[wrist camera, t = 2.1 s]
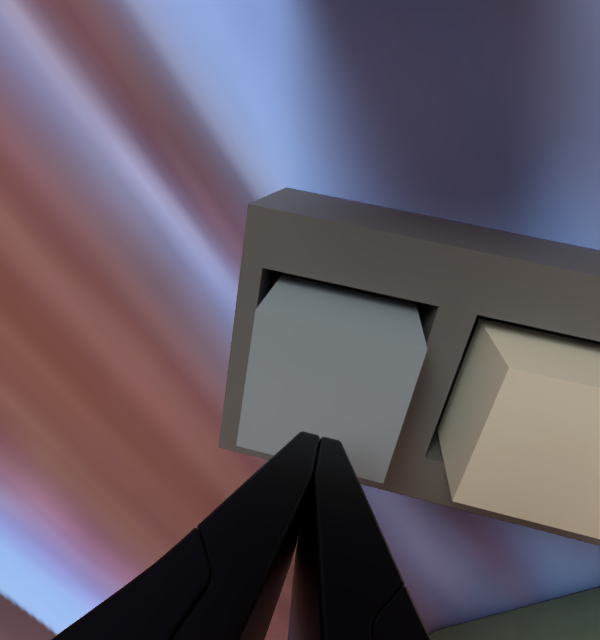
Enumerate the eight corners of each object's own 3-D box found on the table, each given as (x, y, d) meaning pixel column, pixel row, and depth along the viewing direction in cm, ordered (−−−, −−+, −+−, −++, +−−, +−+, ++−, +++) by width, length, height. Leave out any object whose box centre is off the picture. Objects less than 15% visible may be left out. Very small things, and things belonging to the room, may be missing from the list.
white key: (624, 350, 12) (699, 411, 9) (564, 461, 13) (613, 542, 11) (479, 318, 12) (508, 368, 9) (437, 430, 14) (452, 501, 11)
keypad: (802, 291, 14) (1007, 360, 10) (676, 475, 17) (785, 593, 13) (286, 187, 16) (248, 203, 11) (257, 374, 19) (218, 447, 14)
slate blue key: (416, 304, 12) (427, 349, 10) (381, 417, 14) (383, 483, 11) (281, 274, 13) (255, 310, 10) (263, 388, 14) (236, 445, 11)
